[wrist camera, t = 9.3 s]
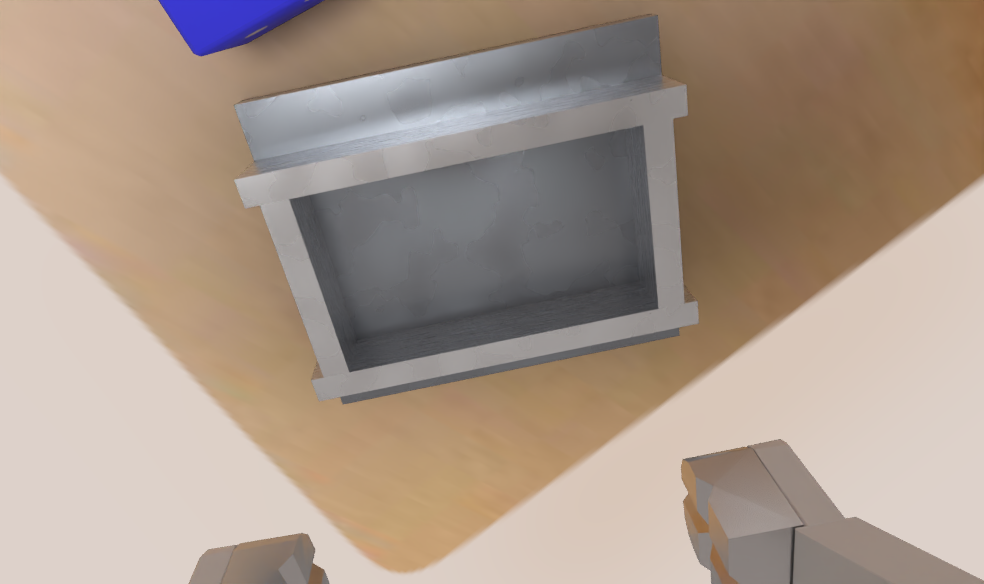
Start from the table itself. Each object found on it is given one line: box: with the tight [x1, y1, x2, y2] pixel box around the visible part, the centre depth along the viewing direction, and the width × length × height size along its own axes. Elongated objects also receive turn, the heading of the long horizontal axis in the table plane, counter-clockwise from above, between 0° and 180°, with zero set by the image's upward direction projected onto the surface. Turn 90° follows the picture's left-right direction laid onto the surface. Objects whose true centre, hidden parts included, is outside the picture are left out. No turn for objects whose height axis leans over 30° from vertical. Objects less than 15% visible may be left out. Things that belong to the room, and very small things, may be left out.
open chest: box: [234, 14, 699, 404], centre depth 24 cm, size 15×13×4 cm
